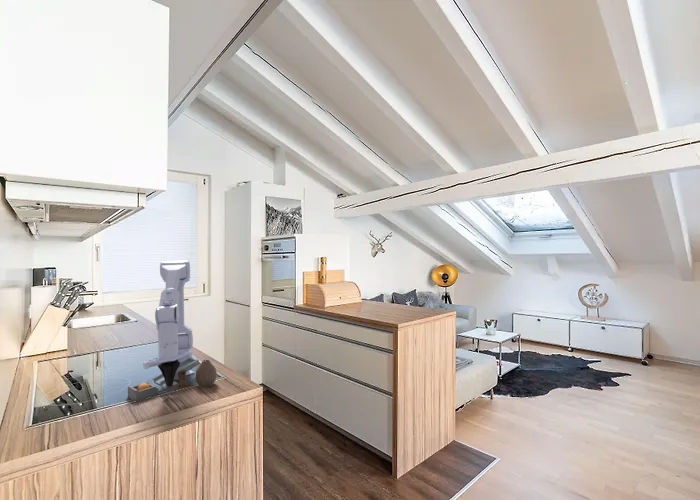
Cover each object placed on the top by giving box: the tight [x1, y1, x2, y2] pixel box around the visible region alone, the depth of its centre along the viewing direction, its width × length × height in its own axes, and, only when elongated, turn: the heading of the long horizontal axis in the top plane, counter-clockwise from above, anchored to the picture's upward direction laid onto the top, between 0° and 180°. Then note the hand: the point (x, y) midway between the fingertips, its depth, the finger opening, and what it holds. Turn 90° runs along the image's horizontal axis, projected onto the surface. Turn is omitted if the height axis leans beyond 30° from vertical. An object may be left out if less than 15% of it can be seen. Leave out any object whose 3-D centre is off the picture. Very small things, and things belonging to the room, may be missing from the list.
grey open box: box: [127, 381, 159, 403], centre depth 117 cm, size 7×7×4 cm
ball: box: [138, 382, 150, 391], centre depth 117 cm, size 4×4×4 cm
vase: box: [195, 359, 218, 388], centre depth 125 cm, size 7×7×9 cm
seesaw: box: [152, 356, 201, 394], centre depth 123 cm, size 14×15×2 cm
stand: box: [173, 369, 192, 391], centre depth 126 cm, size 10×5×6 cm, turn 51°
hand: (169, 384), depth 115 cm, fingers closed
